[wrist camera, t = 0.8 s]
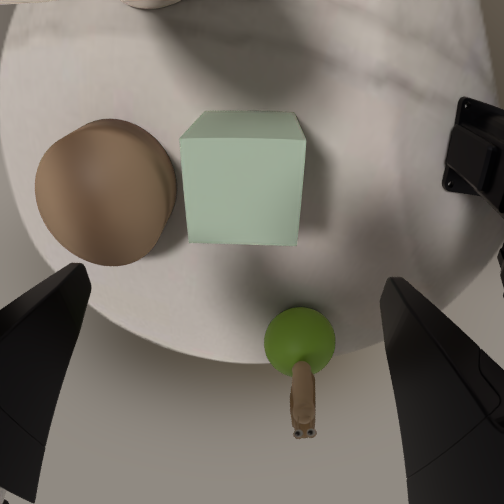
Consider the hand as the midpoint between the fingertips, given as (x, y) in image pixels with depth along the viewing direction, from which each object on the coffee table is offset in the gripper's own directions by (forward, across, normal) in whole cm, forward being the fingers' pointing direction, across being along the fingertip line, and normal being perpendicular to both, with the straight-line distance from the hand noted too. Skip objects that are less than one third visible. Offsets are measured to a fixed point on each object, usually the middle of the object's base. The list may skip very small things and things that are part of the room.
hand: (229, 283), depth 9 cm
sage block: (+12, 0, 0) cm, 12 cm away
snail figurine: (+12, -4, +13) cm, 18 cm away
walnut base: (+12, +9, +2) cm, 15 cm away
